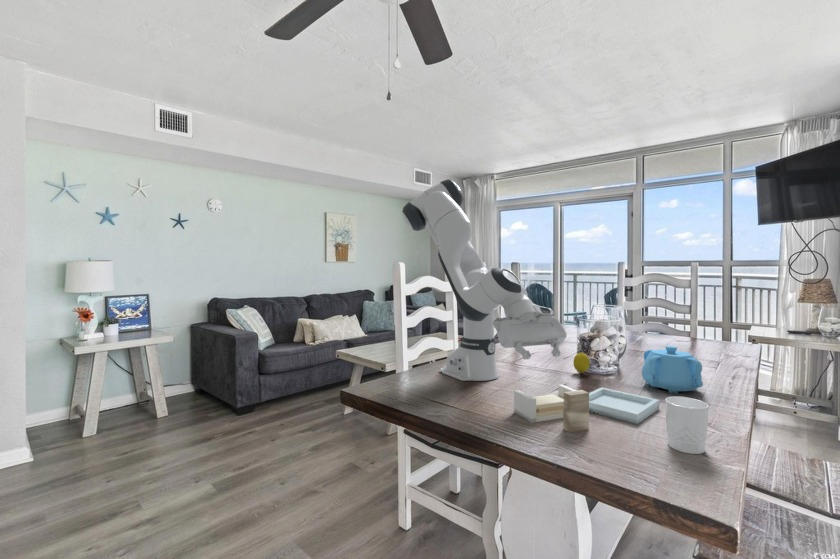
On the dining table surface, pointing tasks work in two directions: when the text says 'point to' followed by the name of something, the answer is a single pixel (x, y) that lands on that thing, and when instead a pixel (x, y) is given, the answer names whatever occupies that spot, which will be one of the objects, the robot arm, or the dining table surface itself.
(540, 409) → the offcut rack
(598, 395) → the ceramic tray
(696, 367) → the decorative pot
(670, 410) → the white cup
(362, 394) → the dining table surface
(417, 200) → the robot arm
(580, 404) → the upright wood block
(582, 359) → the lemon
